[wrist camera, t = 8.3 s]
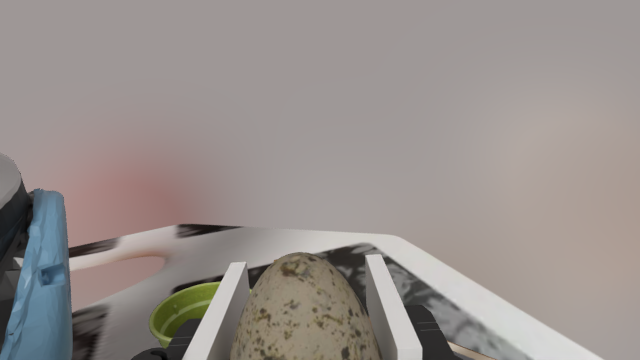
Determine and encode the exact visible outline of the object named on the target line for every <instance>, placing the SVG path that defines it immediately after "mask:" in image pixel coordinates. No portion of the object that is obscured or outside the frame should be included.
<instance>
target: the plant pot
mask: <svg viewBox="0 0 640 360" xmlns="http://www.w3.org/2000/svg"><path fill="white" fill-rule="evenodd" d="M220 283H221V282H212V283H204V284H200V285H196V286H192V287H189V288H186V289H184V290H181V291H179V292H177V293H175V294H173V295H171V296H169V297H168V298H166V299H165V300H163V301H162V302H161V303H160V304H159V305H158V306H157V307H156V308H155V309H154V310H153V312H152V314H151V316H150V319H149V328H150V331H151V333H152V334H153V335H154V336H155V337H156V338H157V339H158V340H159V342H160V344H161V346H162V347H163V348H167V347H168V344H169V343H170V341H171V339H173V336H174V334H175V333H176V331H177V329H178V328H179V327H180V326H181V325H182V324H183V323H184V322H186V321H187V320H188V319H197V318H203V317H204V315H205V313H206V311H207V309H208V307H209V305H210V303H211V301H212V299H213V297H214V295H215V293H216V291H217V289H218V287H219V285H220ZM249 290H250V293H251V291H252V290H251V289H249Z"/></svg>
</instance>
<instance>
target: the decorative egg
mask: <svg viewBox="0 0 640 360" xmlns="http://www.w3.org/2000/svg"><path fill="white" fill-rule="evenodd" d="M229 360H383V357H382V354H381V351H380V348H379V345H378V342H377V339H376V337H375V334H374V331H373V329H372V326H371V324H370V321H369V319H368V317H367V315H366V312H365V310H364V308H363V306H362V304H361V303H360V301H359V299H358V297H357V296H356V294H355V293H354V291H353V290H352V288H351V287H350V285H349V284H348V283H347V281H346V280H345V278H344V277H343V276H342V275H341V274H340V273H339V271H338V270H337V269H336V268H334V267H333V266H332V265H331V264H330V263H328V262H327V261H326V260H324V259H322V258H320V257H318V256H316V255H313V254H310V253H303V252H297V253H292V254H288V255H285V256H283V257H281V258H279V259H278V260H276V261H275V262H274V263H273V264H272V265H270V266H269V267H268V268H267V269H266V270H265V272H264V273H263V274H262V275H261V277H260V278H259V280H258V281H257V283H256V284H255V286H254V288H253V289H252V291H251V293H250V295H249V297H248V299H247V301H246V304H245V306H244V308H243V311H242V314H241V316H240V319H239V322H238V325H237V328H236V332H235V336H234V340H233V343H232V347H231V351H230V356H229Z"/></svg>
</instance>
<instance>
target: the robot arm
mask: <svg viewBox="0 0 640 360" xmlns="http://www.w3.org/2000/svg"><path fill="white" fill-rule="evenodd" d="M67 238H68V236H67V223H66V212H65V206H64V197H63V195H62V194H61V193H59V192H56V191H45V190H42V189H41V190H40V189H34V191H31V192H29V193H27V192H26V190H25V187H24V184H23V181H22V178H21V173H20V172H19V170H18V168H17V166H16V164H15V162H14V161H13V160H12V159H10V158H9V157H8V156H6V155H4V154H2V153H0V360H71V358H72V348H73V337H72V309H71V308H72V307H71V286H70V268H69V253H68V239H67ZM365 257H366V305H367V309H368V312H369V316H370V320H371V324H372V328H373V331H374V334H375V337H376V339H377V342H378V345H379V348H380V351H381V354H382V357H383V360H463V359H461V358H460V357H458V356H456V355H455V354H454V353H453V351H452V349H451V347H450V345H449V344H448V342H447V340H446V338H445V337H444V335H443V333H442V331H441V330H440V328H439V326H438V324H437V323H436V320H435V319H434V317H433V315H432V313H431V312H430V311H429V310H427V309H426V308H425V307H424V306H422V305H413V306H404V305H403V303H402V301H401V299H400V296H399V294H398V292H397V290H396V287H395V285H394V283H393V281H392V278H391V276H390V274H389V272H388V269H387V267H386V265H385V263H384V260H383V258H382V256H381V254H379V255H365ZM249 295H250V290H249V281H248V272H247V262H233V263H231V264H230V265H229V267H228V269H227V271H226V273H225V275H224V277H223V279H222V281H221V283H220V285H219V287H218V289H217V291H216V293H215V295H214V297H213V299H212V301H211V303H210V305H209V307H208V309H207V311H206V313H205V315H204V317H203V318H197V319H188V320H187V321H186V322H184V323H183V324H182V325H181V326H180V327H179V328H178V329H177V331H176V333H175V334H174V336H173V339H171V341H170V343H169V344H168V347H167V348H152V349H149V350H146V351H143V352H141V353H140V354H138V355H136V356H134V357H133V358H132V359H131V360H229V356H230V351H231V347H232V343H233V340H234V336H235V332H236V328H237V325H238V322H239V319H240V316H241V314H242V311H243V308H244V306H245V304H246V301H247V299H248V297H249Z"/></svg>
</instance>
